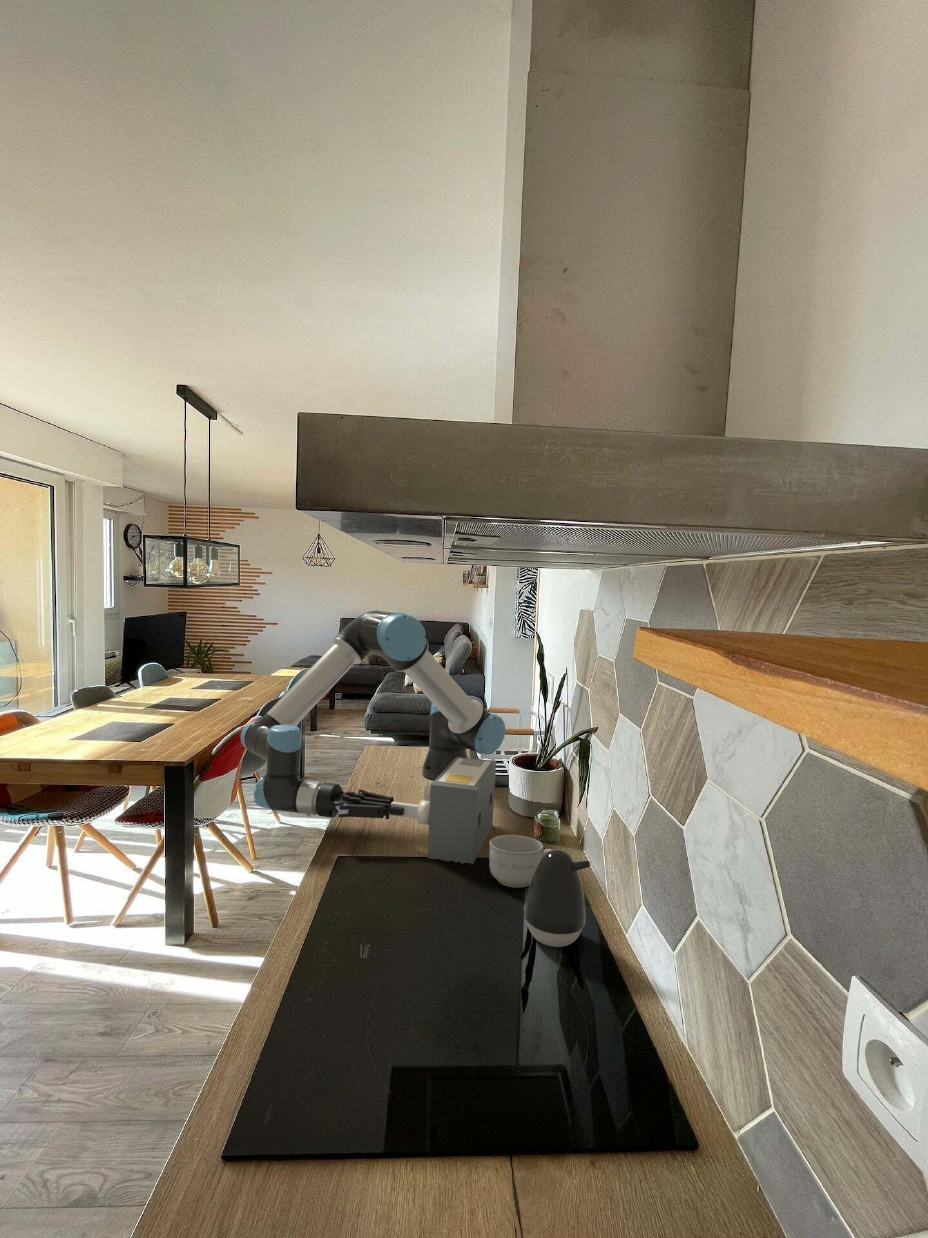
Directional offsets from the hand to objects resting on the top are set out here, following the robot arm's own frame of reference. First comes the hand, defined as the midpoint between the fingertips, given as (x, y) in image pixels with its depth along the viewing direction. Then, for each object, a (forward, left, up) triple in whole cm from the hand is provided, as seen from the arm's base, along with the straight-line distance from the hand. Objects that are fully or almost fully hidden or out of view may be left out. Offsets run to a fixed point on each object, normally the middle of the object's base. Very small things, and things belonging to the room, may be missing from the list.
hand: (419, 812), depth 145 cm
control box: (-7, +9, -8) cm, 14 cm away
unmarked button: (-14, +2, -3) cm, 14 cm away
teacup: (+10, +25, -8) cm, 28 cm away
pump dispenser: (+29, +33, -8) cm, 44 cm away
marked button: (0, +4, -3) cm, 5 cm away
